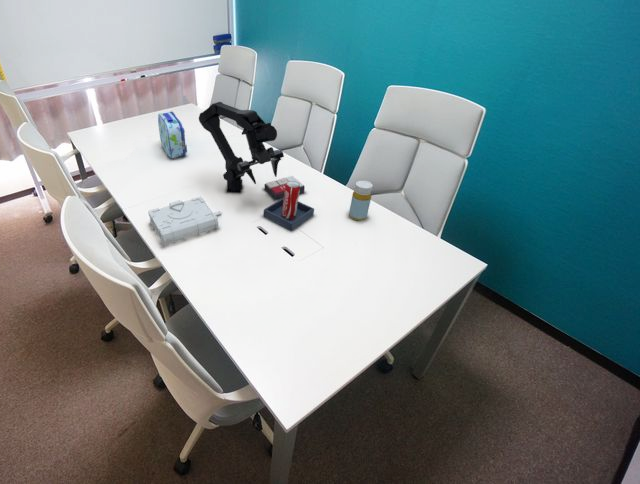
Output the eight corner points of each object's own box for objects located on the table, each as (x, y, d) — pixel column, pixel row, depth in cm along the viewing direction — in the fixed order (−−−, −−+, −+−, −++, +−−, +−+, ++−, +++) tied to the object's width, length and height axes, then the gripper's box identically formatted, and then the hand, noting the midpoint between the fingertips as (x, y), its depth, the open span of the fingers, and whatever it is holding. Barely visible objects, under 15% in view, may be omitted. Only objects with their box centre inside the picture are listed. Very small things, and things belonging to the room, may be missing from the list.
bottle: (366, 213, 143) (374, 181, 134) (366, 222, 137) (373, 190, 129) (349, 210, 145) (355, 178, 136) (347, 219, 139) (354, 187, 131)
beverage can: (278, 215, 142) (280, 183, 133) (290, 210, 145) (293, 178, 136) (288, 222, 138) (290, 189, 129) (300, 216, 141) (303, 184, 132)
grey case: (231, 227, 137) (230, 211, 132) (162, 249, 126) (159, 232, 122) (211, 204, 151) (210, 189, 147) (148, 222, 141) (145, 206, 136)
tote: (263, 216, 142) (263, 209, 140) (285, 202, 151) (286, 195, 149) (291, 231, 134) (292, 223, 132) (313, 215, 142) (314, 208, 140)
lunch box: (189, 158, 190) (185, 121, 178) (170, 162, 186) (164, 124, 174) (177, 141, 209) (172, 107, 197) (159, 145, 206) (154, 110, 194)
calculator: (264, 182, 158) (292, 174, 162) (264, 190, 161) (292, 182, 165) (275, 193, 150) (305, 184, 154) (275, 201, 152) (304, 192, 157)
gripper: (238, 152, 129) (250, 190, 134) (284, 136, 132) (293, 175, 137) (232, 150, 140) (243, 186, 144) (274, 136, 142) (283, 172, 147)
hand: (265, 180), depth 143 cm, fingers open, 9 cm apart
